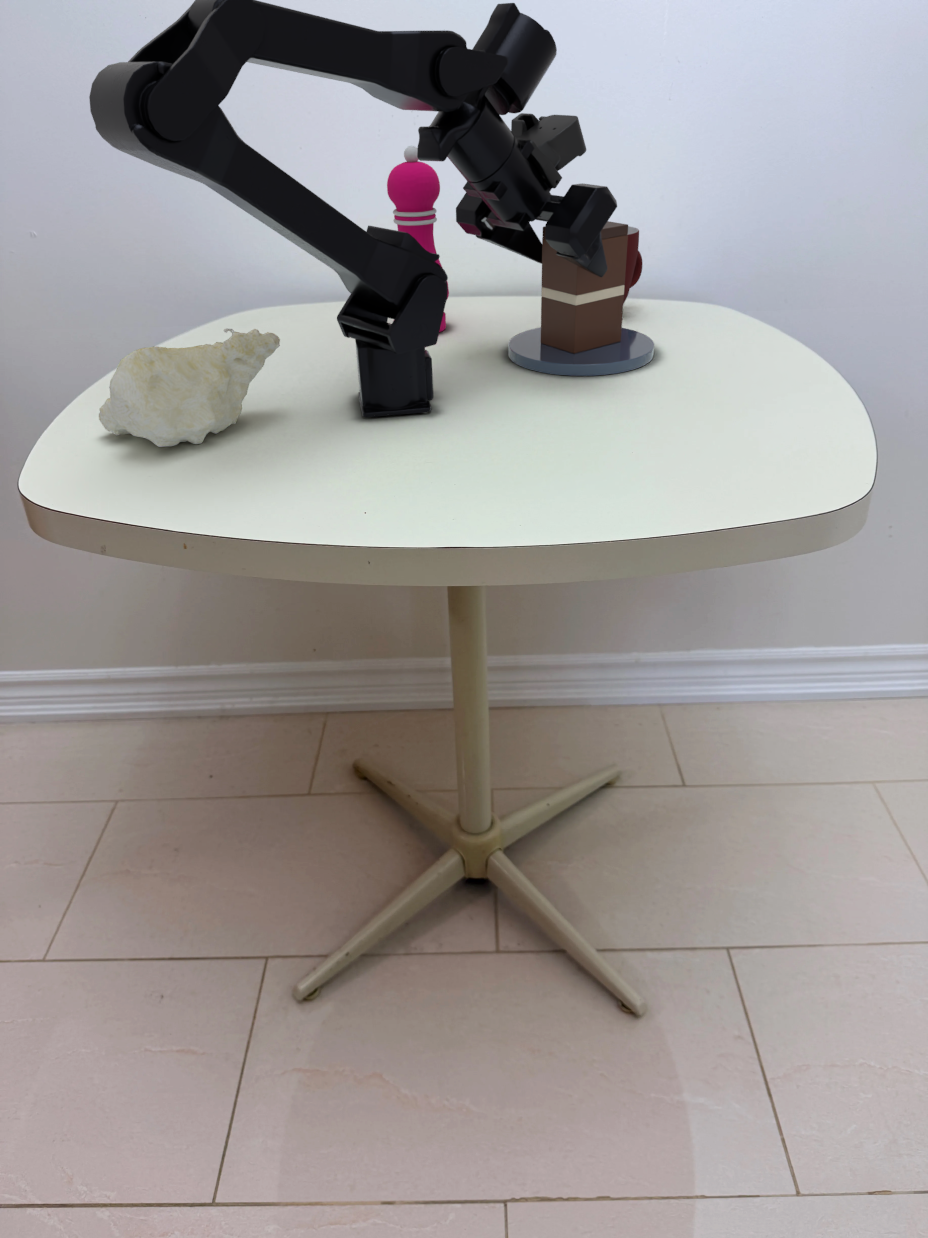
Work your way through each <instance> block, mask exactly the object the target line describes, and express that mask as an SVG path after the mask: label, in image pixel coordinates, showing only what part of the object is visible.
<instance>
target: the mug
mask: <svg viewBox="0 0 928 1238" xmlns="http://www.w3.org/2000/svg"><path fill="white" fill-rule="evenodd" d="M627 235H628V240H627V255H626V270H625V285H624V299H623V305H624V304H625V302H626V300H627V298H628V297H629V293H630V290H631V288H633V287H634V286H635V285H636V284H637V283H638V282H639V280H640V278H641V275H642V273H643V257H642V254H641V252H640V251H639V247H640V246H639V243H640V230H639V228H637V227H634V226H629V225H628V234H627Z"/></svg>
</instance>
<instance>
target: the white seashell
mask: <svg viewBox="0 0 928 1238" xmlns="http://www.w3.org/2000/svg"><path fill="white" fill-rule="evenodd" d="M223 332H224V333H225V334H226V333H228V332H230V333H231V336H230V337H229V338H227V339H226V340H224V341H223V342H220V341H216V342H215V343H214V344H208V343H205V344H199V345H194V346H189V347H167V346H165V347H164V346H155V345H154V346H151V347H142V348H138V349H135V350H133V351H131V352H130V353H128V354H127V355H126V356H124V357H123V358H122V359H120V361H119V363H118V365H117V367H116V371H115V372H114V373H113V375H112V377H111V379H110V381H109V396H110V397H109V398H107V399H106V400H105V401H104V404H102V405H101V406H100V407H99V409H98V410H99V413H98V420H99V422H100V424H101V425H102V426H103V428H104V430H106V431H107V432H110V433H112V434H114V435H115V436H119V435H132V436H133V437H138V438H144V439H146V440H148V441H150V442H152V444H154V445H155V446H156V447H159V448H161V447H175V446H177V445H179V444H180V443H185V442H189V443H190V444H194V445H198V444H200V445H201V444H203V442H204V440H205V438H206V436H207V435H208V433H213V434H214V435H215V434H219V433H220V432H224V431H225V430H226V429H227V428H228V427H230V426H231V425H236V424H237V422H238V418H239V417H240V415H241V413H242V410H243V401H244V400H245V398H246V396H247V395H248V390H249V388H250V387H249V386H250V384H251V382H252V381H253V380H255V378H256V376H257V375H258V373H260V371H261V370H262V369H263V368H264V366H265V363H266V361H267V358H269V357H271V356H272V355H273V354H274V353H275V351H276V350H277V349H278V348H279V347H280V346H281V344H280V343H281V339H280V337H279V335H277V334H275V333H274V332H270V331H267V332H264V333H261V332H260V330H259V329H258V328H253V329H252V330H250V331H248V332H246V333H245V332H238V331H235V330H234V329H233V328H224V329H223Z"/></svg>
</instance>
